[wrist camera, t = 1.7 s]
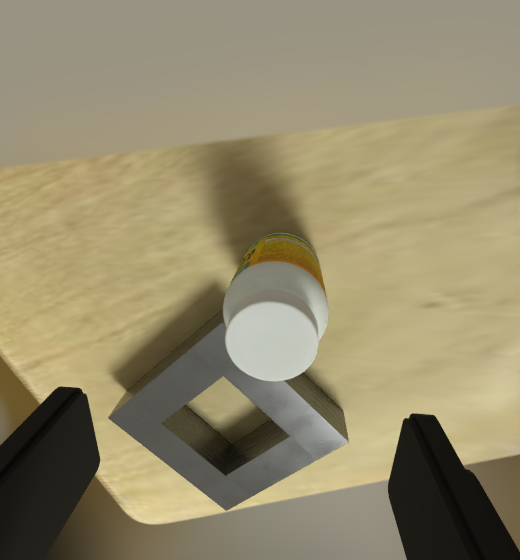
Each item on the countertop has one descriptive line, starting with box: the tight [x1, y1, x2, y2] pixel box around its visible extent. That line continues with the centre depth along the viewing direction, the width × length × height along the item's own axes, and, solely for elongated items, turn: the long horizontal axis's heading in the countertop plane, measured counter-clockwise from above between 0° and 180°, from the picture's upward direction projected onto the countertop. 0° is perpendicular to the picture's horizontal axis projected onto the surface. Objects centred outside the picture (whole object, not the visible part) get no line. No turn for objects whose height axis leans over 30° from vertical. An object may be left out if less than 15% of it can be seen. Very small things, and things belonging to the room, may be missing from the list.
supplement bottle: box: [223, 233, 329, 381], centre depth 18 cm, size 5×5×10 cm
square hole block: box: [108, 309, 349, 511], centre depth 26 cm, size 13×13×3 cm
